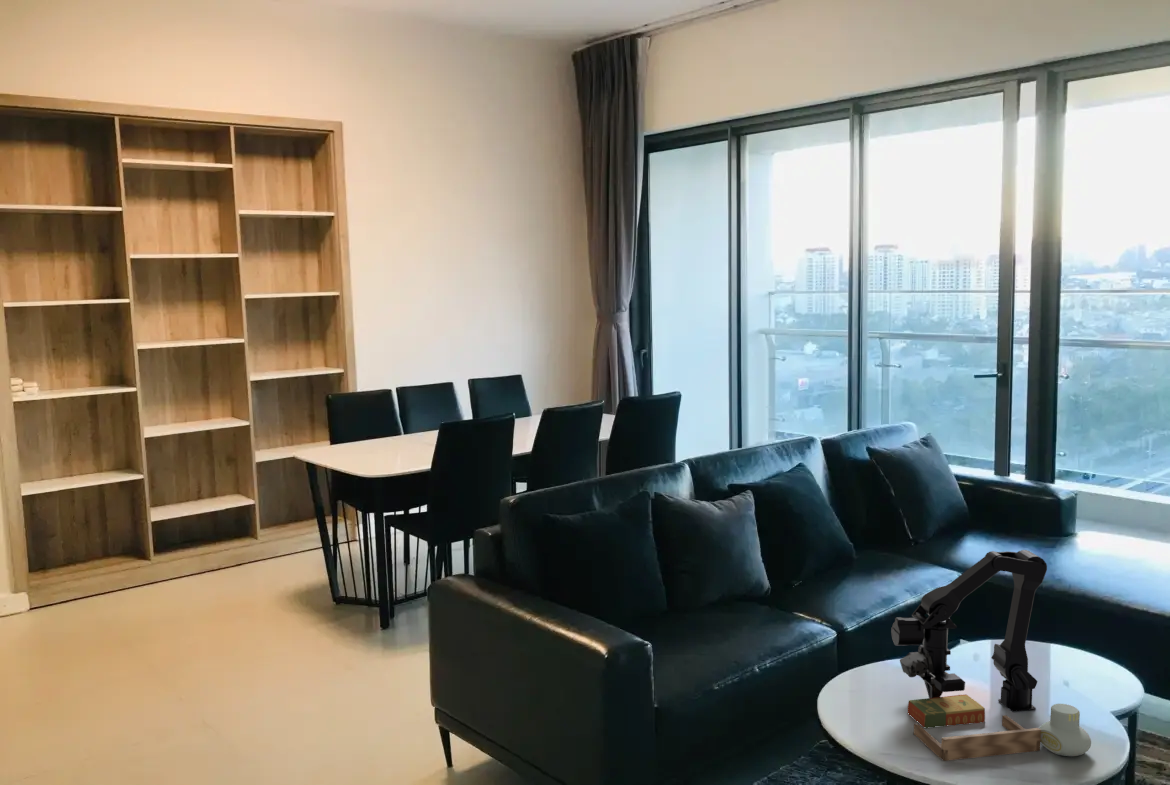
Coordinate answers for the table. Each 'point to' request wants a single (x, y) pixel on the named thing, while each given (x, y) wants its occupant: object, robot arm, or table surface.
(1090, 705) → the table surface
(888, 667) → the table surface
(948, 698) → the carton
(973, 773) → the table surface
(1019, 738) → the frame
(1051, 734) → the air freshener
